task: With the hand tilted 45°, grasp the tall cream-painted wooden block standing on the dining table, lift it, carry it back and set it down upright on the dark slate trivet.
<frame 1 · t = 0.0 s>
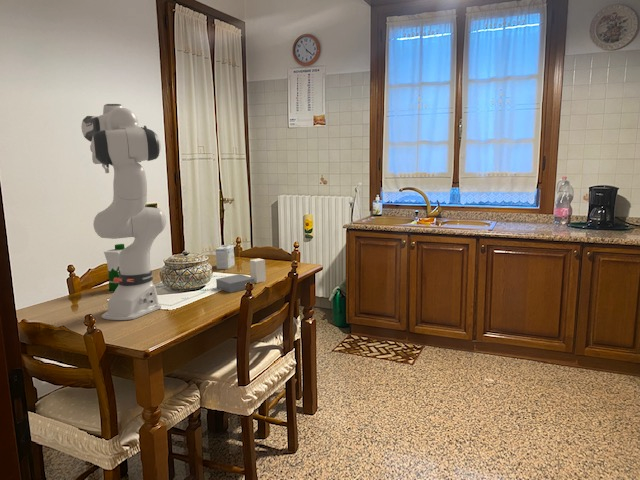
hand: (118, 172, 220), 52 cm above the table, tool tilted 20°, fingers open, 8 cm apart
slate trivet: (235, 287, 221), on the table
cream block: (258, 281, 231), on the table
light bulb box: (226, 267, 264), on the table
milk carton: (120, 289, 225), on the table
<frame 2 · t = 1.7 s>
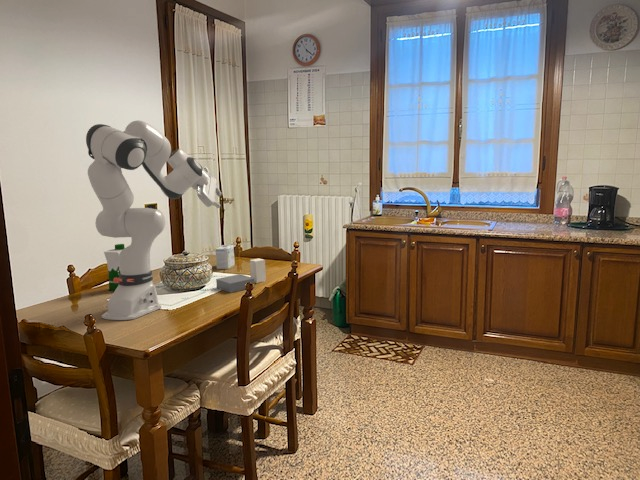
hand: (219, 200, 225), 38 cm above the table, tool tilted 45°, fingers open, 8 cm apart
nothing on the table moved.
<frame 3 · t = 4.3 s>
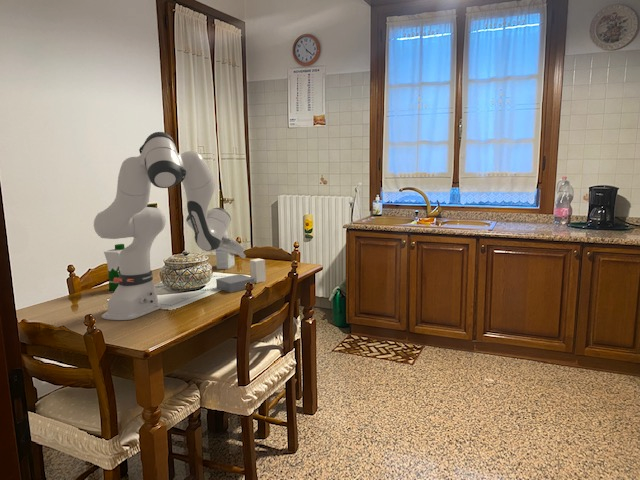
hand: (238, 255, 222), 14 cm above the table, tool tilted 45°, fingers open, 8 cm apart
nothing on the table moved.
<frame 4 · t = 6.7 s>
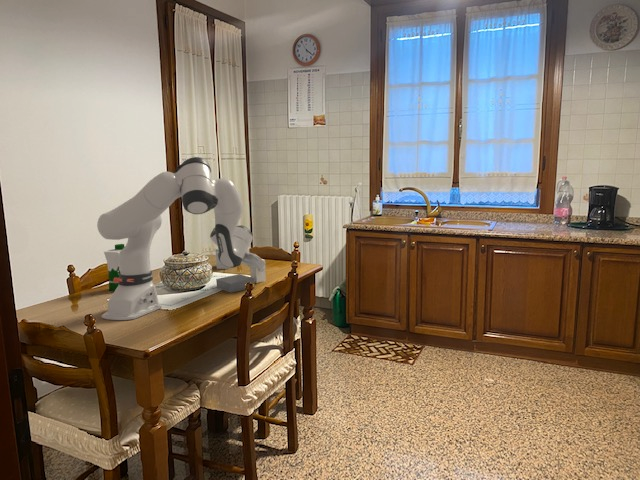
hand: (258, 269, 230), 5 cm above the table, tool tilted 45°, fingers closed on cream block, 5 cm apart
cream block: (258, 281, 231), on the table, touching gripper
everything else where it was.
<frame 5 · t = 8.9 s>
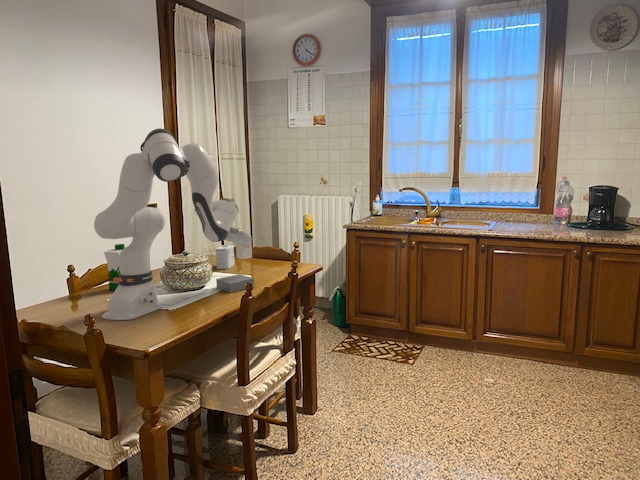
hand: (244, 245, 225), 17 cm above the table, tool tilted 45°, fingers closed on cream block, 5 cm apart
cream block: (244, 257, 225), point 12 cm above the table, touching gripper
everything else where it was.
when the fingers open (11 cm above the table, at t = 11.0 s): cream block drops 2 cm, resting on slate trivet.
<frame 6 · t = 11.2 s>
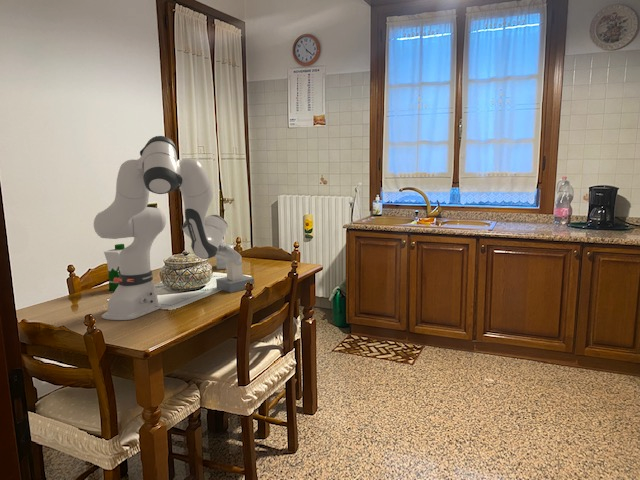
hand: (235, 263, 219), 11 cm above the table, tool tilted 45°, fingers open, 7 cm apart
cream block: (235, 278, 220), point 4 cm above the table, touching slate trivet
everything else where it was.
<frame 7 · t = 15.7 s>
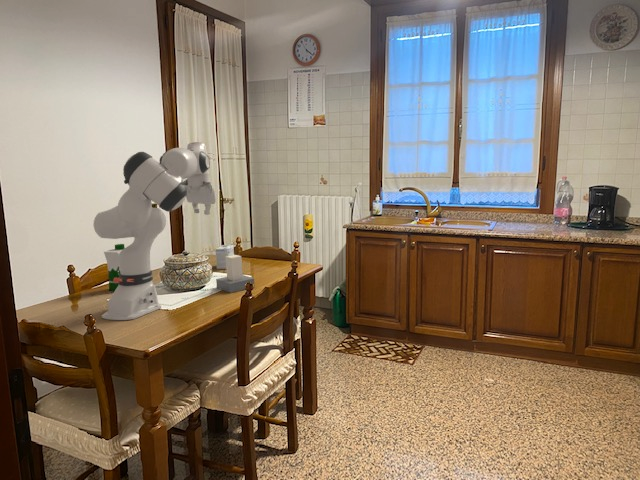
hand: (201, 213, 215), 33 cm above the table, tool pointing down, fingers open, 8 cm apart
nothing on the table moved.
at the end: cream block inside the target area on the slate trivet (0.0 cm from its centre), point 4.0 cm above the slate trivet's base; cream block tilted 0°; the gripper is holding nothing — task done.
